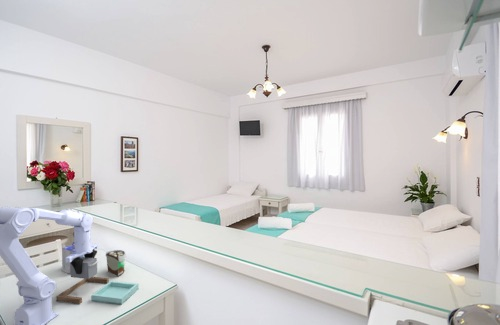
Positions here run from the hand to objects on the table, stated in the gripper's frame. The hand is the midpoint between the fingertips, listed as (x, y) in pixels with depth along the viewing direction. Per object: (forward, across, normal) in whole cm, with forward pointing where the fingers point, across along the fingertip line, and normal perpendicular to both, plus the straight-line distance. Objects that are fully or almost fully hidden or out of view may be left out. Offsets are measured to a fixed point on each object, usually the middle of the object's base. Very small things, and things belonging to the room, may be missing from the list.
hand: (84, 270), depth 100 cm
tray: (+9, 0, -16) cm, 18 cm away
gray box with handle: (+2, 0, 0) cm, 2 cm away
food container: (+10, +17, -3) cm, 20 cm away
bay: (+9, 0, 0) cm, 9 cm away
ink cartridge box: (+10, +14, +21) cm, 27 cm away
